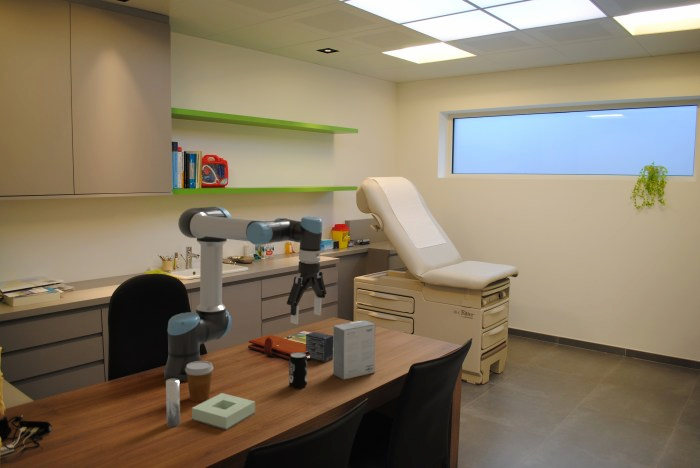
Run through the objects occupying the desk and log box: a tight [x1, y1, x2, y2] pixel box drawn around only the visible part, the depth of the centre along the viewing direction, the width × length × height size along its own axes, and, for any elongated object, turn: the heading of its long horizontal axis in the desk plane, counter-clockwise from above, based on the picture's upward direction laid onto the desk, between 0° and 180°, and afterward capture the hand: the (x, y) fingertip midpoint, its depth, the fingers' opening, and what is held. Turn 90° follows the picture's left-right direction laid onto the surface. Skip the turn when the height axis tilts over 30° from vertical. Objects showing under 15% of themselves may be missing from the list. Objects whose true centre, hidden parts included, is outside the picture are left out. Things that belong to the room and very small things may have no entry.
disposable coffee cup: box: [185, 360, 214, 403], centre depth 191 cm, size 10×10×12 cm
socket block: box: [191, 392, 256, 431], centre depth 177 cm, size 14×14×4 cm
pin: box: [165, 378, 181, 428], centre depth 171 cm, size 4×4×14 cm
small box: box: [305, 331, 333, 363], centre depth 235 cm, size 11×6×10 cm, turn 58°
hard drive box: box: [332, 319, 376, 381], centre depth 217 cm, size 16×8×20 cm, turn 123°
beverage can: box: [288, 351, 308, 390], centre depth 204 cm, size 7×7×12 cm
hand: (306, 318), depth 197 cm, fingers open, 13 cm apart
